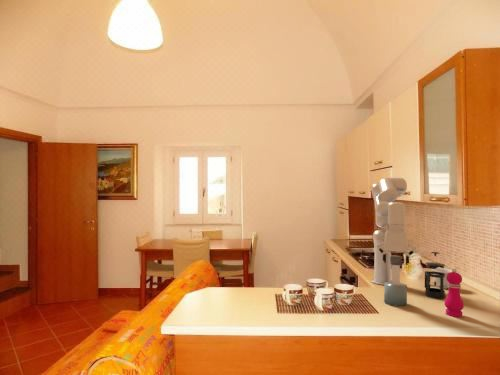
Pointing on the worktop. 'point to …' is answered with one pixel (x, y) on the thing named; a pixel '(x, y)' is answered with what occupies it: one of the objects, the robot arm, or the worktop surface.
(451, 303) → the pepper mill
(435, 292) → the french press
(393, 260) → the pump head
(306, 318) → the worktop surface
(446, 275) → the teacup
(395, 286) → the syrup pump bottle
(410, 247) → the robot arm
